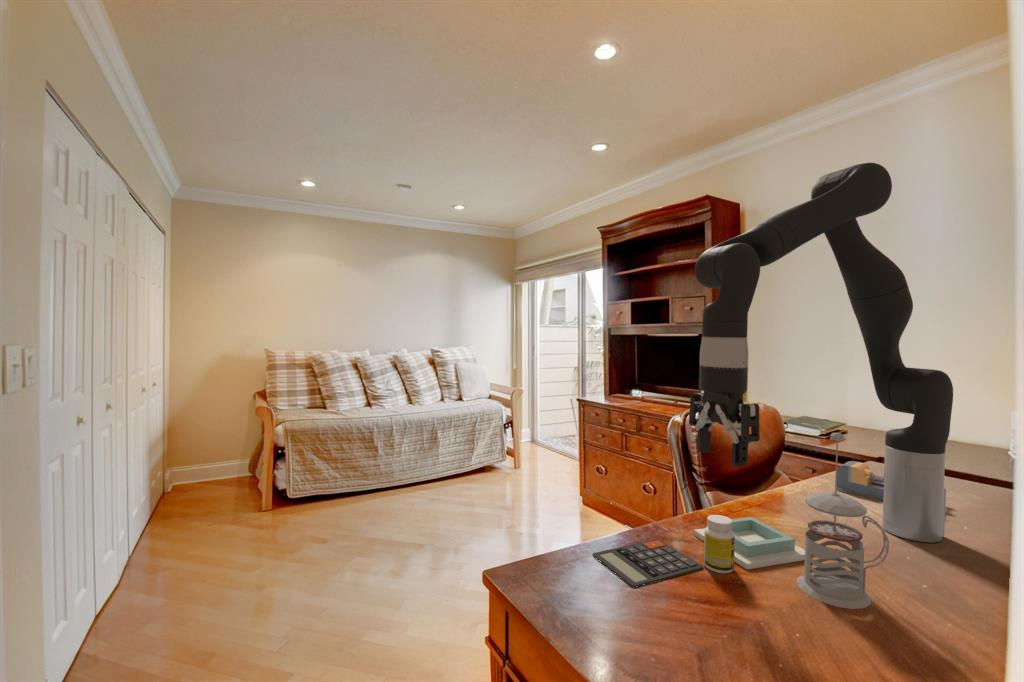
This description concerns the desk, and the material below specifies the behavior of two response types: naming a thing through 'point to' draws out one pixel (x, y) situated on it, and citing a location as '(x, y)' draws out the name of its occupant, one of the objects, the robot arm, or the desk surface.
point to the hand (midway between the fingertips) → (720, 458)
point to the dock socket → (760, 544)
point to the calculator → (647, 562)
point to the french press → (837, 551)
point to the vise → (859, 480)
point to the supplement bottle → (719, 544)
